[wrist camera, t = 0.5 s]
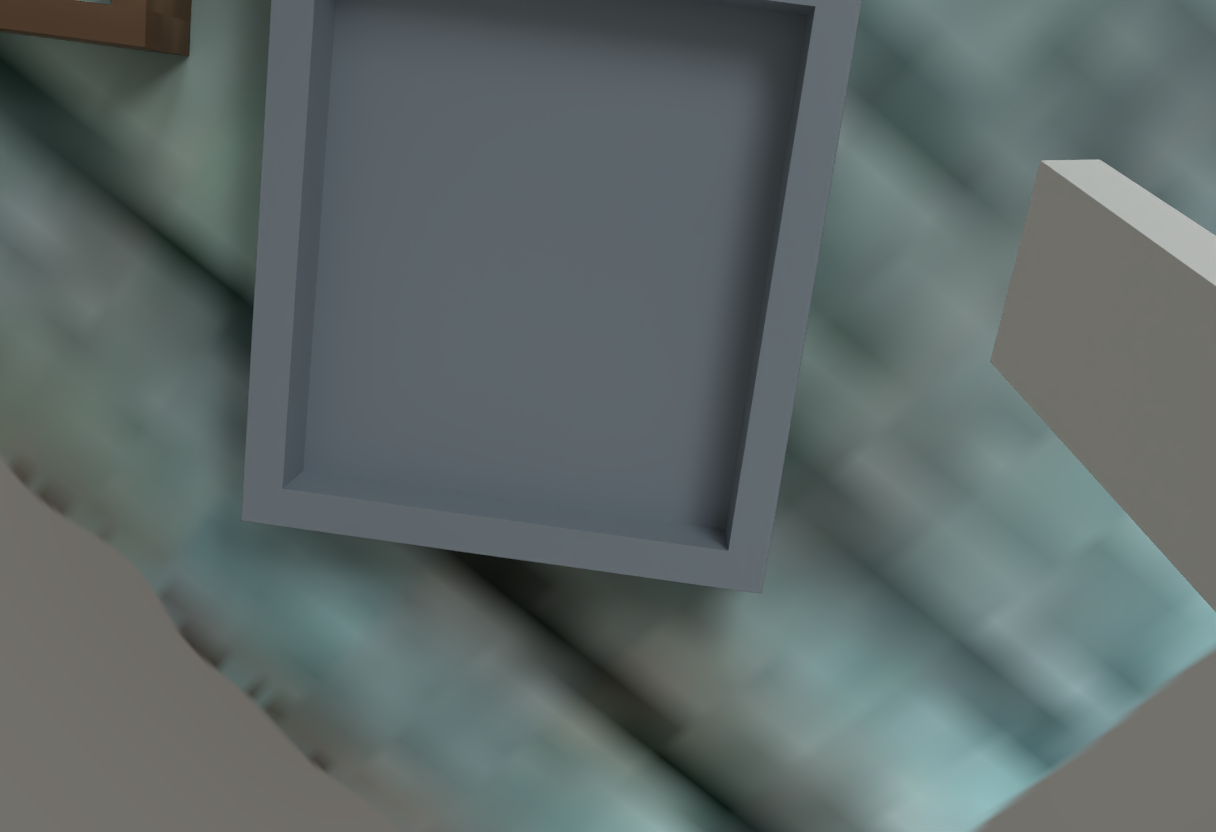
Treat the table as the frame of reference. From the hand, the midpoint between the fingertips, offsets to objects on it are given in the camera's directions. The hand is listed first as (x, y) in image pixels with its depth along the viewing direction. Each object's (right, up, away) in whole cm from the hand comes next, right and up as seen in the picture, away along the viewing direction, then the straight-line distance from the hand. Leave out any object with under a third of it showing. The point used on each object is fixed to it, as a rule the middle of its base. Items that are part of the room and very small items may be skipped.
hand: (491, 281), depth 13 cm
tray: (-1, +4, +22) cm, 23 cm away
